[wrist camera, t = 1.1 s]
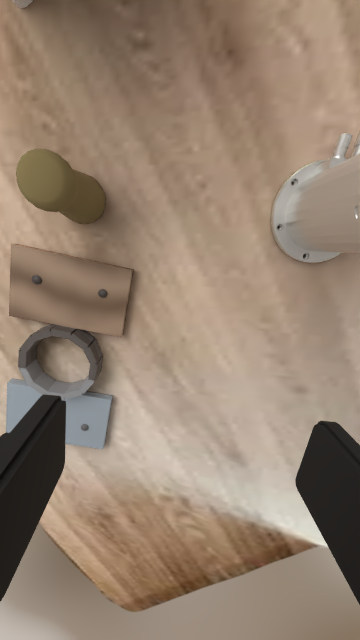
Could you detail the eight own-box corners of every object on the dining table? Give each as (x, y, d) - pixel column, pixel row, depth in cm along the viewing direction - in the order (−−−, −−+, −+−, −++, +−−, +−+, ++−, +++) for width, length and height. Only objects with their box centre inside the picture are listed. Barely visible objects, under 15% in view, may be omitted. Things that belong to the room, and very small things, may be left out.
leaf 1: (16, 244, 34) (2, 244, 31) (133, 269, 35) (130, 271, 32) (12, 355, 38) (0, 364, 35) (116, 373, 40) (112, 383, 37)
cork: (93, 232, 34) (57, 227, 23) (51, 208, 33) (-7, 190, 22) (113, 190, 32) (84, 163, 22) (69, 163, 31) (17, 121, 21)
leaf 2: (13, 353, 38) (0, 362, 35) (116, 372, 40) (112, 382, 37) (10, 429, 42) (-2, 443, 39) (104, 443, 44) (100, 457, 41)
